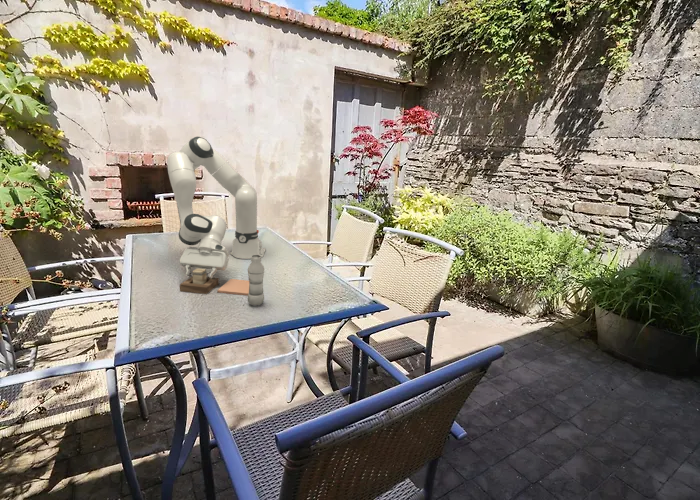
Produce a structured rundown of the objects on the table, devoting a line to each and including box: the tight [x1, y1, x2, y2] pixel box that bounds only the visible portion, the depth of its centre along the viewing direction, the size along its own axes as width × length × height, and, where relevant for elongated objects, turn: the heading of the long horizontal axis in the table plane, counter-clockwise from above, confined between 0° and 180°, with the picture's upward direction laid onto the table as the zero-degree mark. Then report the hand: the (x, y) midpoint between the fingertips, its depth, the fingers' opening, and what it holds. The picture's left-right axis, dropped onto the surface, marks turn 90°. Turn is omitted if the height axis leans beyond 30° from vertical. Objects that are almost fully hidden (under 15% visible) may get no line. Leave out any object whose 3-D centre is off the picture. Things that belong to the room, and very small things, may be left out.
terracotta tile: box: [216, 278, 249, 297], centre depth 154 cm, size 14×14×1 cm
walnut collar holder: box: [179, 275, 220, 295], centre depth 151 cm, size 12×12×3 cm
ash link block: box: [191, 268, 207, 285], centre depth 150 cm, size 4×4×8 cm
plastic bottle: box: [247, 255, 265, 307], centre depth 138 cm, size 6×7×20 cm
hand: (198, 276), depth 150 cm, fingers open, 8 cm apart
